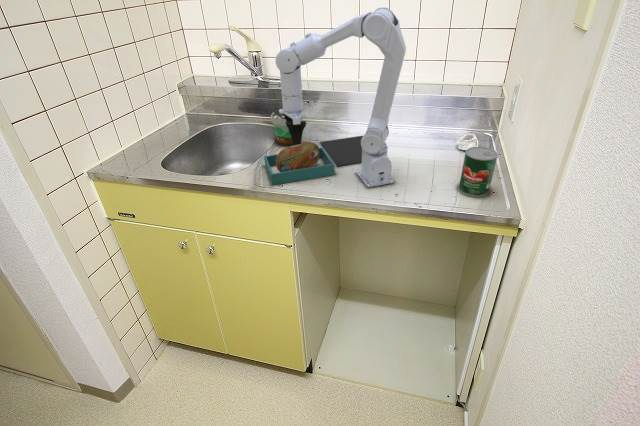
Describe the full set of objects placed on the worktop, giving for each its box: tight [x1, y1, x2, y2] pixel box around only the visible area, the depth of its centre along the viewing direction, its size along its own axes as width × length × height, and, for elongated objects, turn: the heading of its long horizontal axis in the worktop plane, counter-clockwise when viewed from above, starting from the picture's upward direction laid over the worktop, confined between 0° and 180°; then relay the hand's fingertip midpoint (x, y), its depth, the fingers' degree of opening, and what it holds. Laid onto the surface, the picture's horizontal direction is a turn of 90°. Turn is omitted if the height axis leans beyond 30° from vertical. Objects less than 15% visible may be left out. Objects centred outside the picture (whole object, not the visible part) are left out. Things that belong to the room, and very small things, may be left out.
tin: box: [275, 141, 321, 172], centre depth 116 cm, size 15×3×8 cm, turn 126°
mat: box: [320, 135, 364, 168], centre depth 129 cm, size 20×16×1 cm
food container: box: [270, 111, 304, 147], centre depth 133 cm, size 12×6×10 cm, turn 62°
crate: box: [264, 146, 336, 186], centre depth 117 cm, size 13×19×4 cm
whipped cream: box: [457, 133, 480, 151], centre depth 125 cm, size 8×7×5 cm
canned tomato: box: [458, 146, 499, 198], centre depth 101 cm, size 8×8×11 cm
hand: (295, 139), depth 114 cm, fingers open, 7 cm apart
